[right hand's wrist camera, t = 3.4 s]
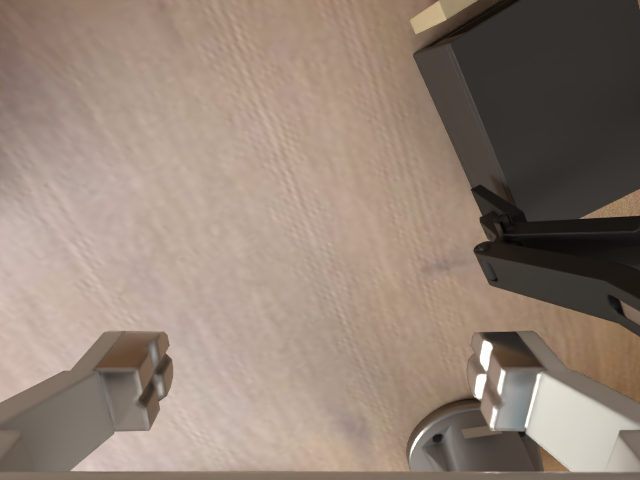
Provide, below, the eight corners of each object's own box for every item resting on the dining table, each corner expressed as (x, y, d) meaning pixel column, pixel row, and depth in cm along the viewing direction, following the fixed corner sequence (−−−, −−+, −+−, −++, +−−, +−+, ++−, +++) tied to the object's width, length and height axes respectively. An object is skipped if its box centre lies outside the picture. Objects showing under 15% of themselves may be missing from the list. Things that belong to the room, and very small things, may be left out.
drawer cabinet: (412, 54, 32) (449, 43, 24) (534, -20, 31) (623, -62, 22) (479, 205, 37) (530, 242, 29) (588, 149, 35) (678, 170, 27)
